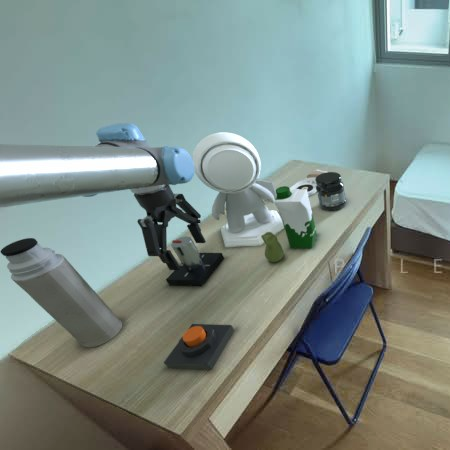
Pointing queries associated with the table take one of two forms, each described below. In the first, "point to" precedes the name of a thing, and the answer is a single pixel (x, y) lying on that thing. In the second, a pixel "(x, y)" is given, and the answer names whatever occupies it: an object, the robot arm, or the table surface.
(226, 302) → the table surface
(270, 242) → the pear
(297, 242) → the milk carton
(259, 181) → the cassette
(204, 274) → the timer panel
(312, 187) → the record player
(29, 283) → the thermos bottle
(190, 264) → the timer knob
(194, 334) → the power button
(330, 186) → the supplement container
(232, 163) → the white cartoon figure
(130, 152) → the robot arm
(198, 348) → the black button base
